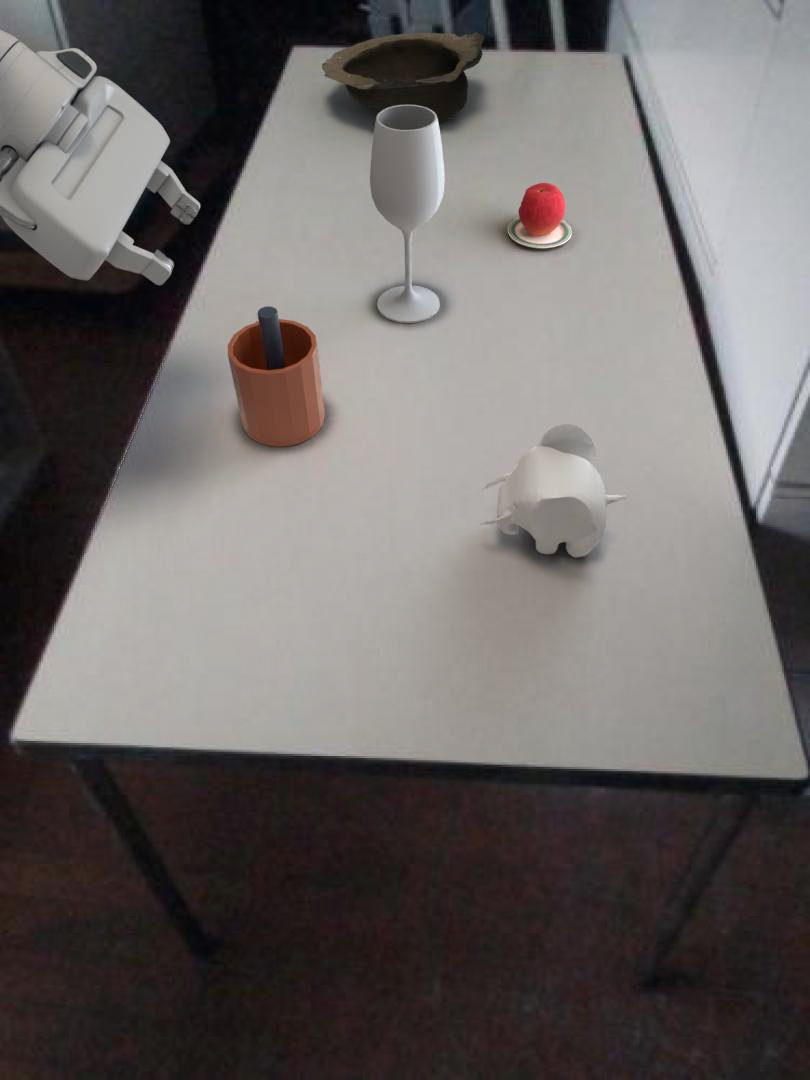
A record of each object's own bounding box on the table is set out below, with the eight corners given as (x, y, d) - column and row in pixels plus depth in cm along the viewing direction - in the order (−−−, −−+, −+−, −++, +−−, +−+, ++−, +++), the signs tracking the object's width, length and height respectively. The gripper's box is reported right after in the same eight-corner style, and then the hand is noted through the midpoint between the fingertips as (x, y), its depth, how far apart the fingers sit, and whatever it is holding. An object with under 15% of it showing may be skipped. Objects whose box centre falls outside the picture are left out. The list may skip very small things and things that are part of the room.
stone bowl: (491, 137, 125) (490, 70, 118) (322, 151, 127) (312, 86, 120) (482, 67, 141) (481, 4, 134) (333, 81, 143) (324, 20, 136)
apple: (523, 256, 105) (528, 206, 100) (497, 224, 110) (501, 175, 105) (582, 244, 106) (590, 194, 101) (554, 213, 111) (560, 164, 106)
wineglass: (401, 279, 102) (397, 94, 86) (454, 300, 99) (461, 113, 83) (362, 309, 98) (351, 122, 82) (416, 332, 95) (416, 142, 79)
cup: (264, 458, 82) (250, 384, 75) (229, 410, 87) (213, 337, 80) (339, 427, 85) (332, 353, 78) (301, 382, 89) (291, 309, 82)
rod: (279, 422, 84) (262, 320, 75) (271, 412, 85) (253, 310, 76) (295, 416, 85) (280, 313, 76) (287, 406, 86) (272, 303, 77)
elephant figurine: (482, 486, 79) (488, 413, 72) (613, 497, 78) (632, 423, 71) (475, 566, 73) (481, 494, 66) (618, 578, 72) (638, 507, 65)
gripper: (-12, 155, 55) (172, 291, 62) (86, 40, 68) (228, 162, 75) (-49, 220, 58) (128, 341, 65) (50, 98, 72) (189, 209, 79)
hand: (182, 244), depth 70 cm, fingers open, 8 cm apart
